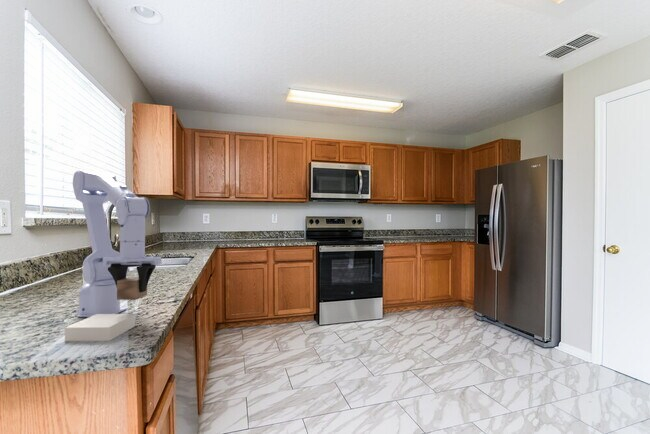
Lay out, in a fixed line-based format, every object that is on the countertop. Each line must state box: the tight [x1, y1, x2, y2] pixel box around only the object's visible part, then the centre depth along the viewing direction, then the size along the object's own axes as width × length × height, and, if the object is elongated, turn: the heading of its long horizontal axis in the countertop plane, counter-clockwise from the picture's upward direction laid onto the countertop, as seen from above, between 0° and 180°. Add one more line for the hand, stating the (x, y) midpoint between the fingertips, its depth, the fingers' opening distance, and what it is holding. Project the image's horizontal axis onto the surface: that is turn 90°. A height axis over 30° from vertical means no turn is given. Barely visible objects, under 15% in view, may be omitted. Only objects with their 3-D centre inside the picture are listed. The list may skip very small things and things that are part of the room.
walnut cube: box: [117, 276, 148, 301], centre depth 82 cm, size 5×5×5 cm
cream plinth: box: [64, 313, 136, 342], centre depth 74 cm, size 10×10×4 cm
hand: (132, 291), depth 82 cm, fingers closed on walnut cube, 5 cm apart
